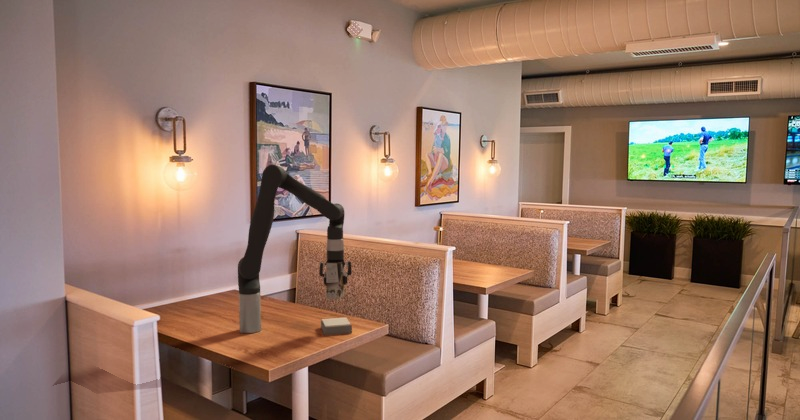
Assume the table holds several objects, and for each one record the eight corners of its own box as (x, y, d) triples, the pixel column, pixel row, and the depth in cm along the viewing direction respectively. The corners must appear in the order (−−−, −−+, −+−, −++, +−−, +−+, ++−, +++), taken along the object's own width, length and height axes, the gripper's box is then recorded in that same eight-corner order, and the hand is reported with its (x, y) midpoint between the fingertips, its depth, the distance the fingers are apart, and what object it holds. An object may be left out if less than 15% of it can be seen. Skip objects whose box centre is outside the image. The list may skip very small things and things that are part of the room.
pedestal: (324, 335, 244) (324, 326, 244) (321, 327, 256) (320, 319, 256) (351, 333, 248) (351, 324, 247) (347, 325, 259) (346, 317, 259)
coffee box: (340, 299, 246) (340, 263, 244) (325, 299, 246) (325, 262, 245) (344, 294, 255) (344, 259, 253) (330, 294, 256) (330, 259, 254)
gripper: (320, 250, 243) (320, 287, 245) (352, 249, 247) (352, 285, 249) (318, 248, 251) (318, 284, 252) (349, 247, 254) (349, 282, 256)
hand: (335, 285), depth 250 cm, fingers closed on coffee box, 8 cm apart
